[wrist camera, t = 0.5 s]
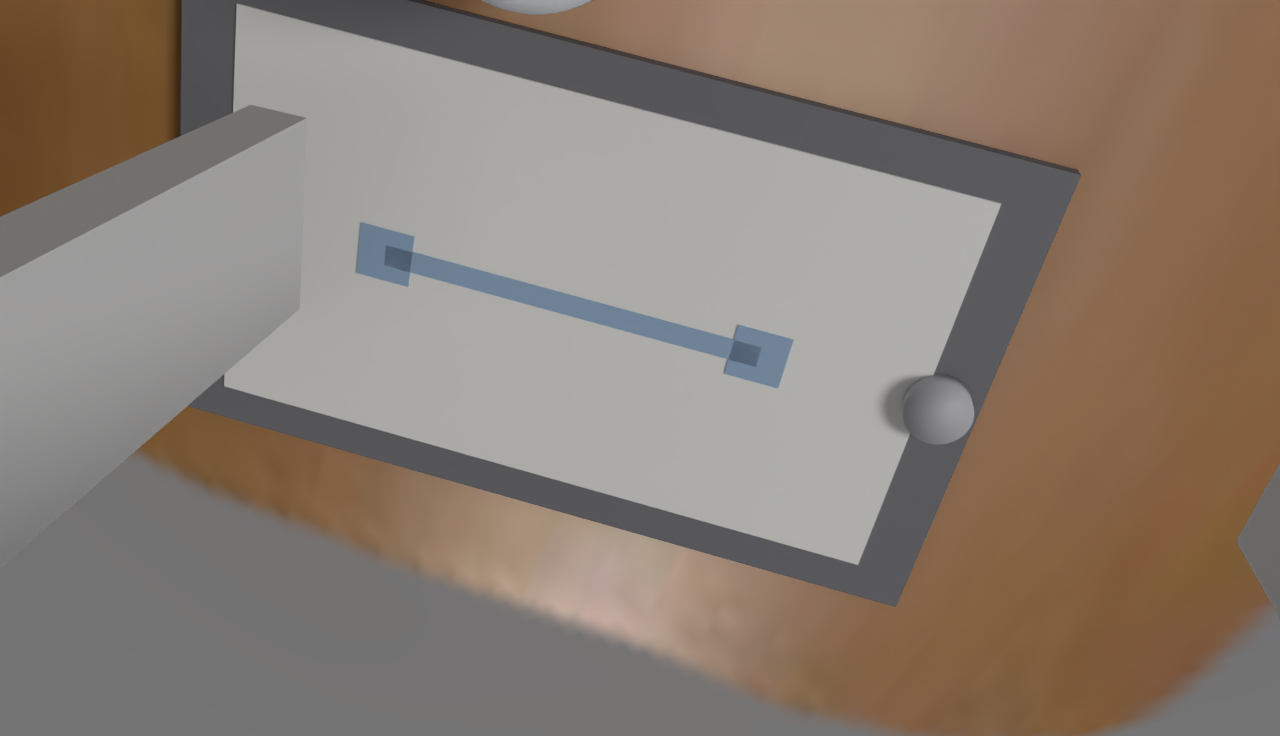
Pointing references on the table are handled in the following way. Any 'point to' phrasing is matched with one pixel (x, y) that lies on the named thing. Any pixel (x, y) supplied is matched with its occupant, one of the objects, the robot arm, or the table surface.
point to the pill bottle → (536, 5)
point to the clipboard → (626, 281)
